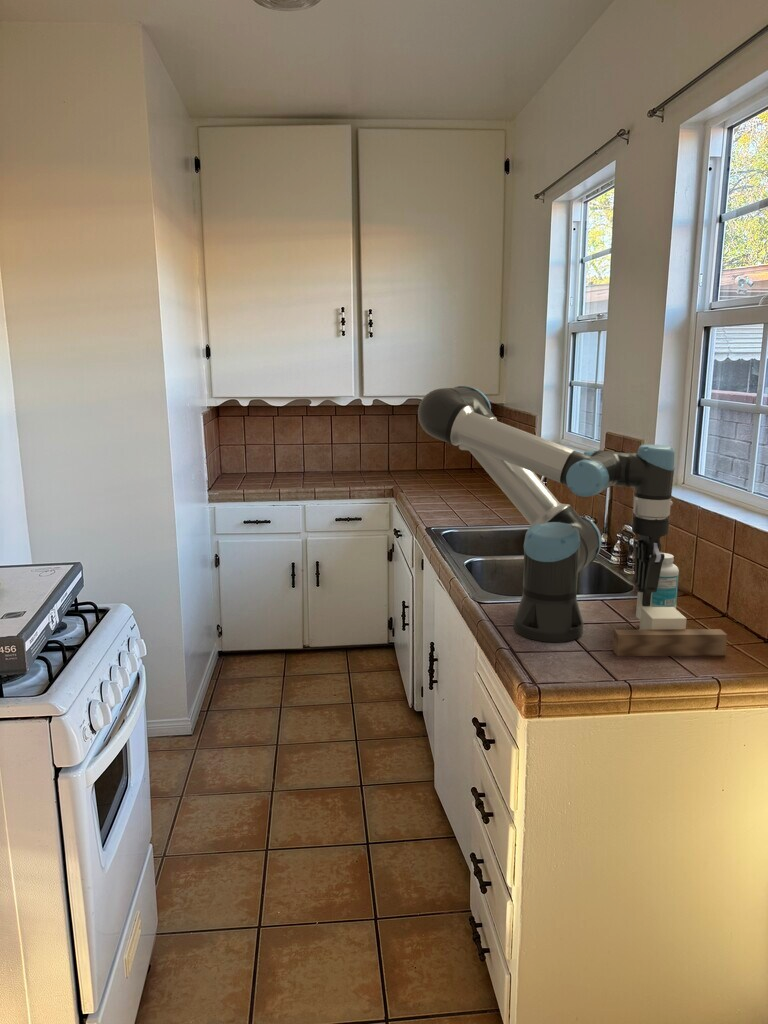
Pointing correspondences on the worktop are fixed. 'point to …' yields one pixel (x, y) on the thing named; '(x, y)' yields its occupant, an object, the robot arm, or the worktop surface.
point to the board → (669, 642)
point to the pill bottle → (666, 584)
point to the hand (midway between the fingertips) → (642, 617)
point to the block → (661, 618)
